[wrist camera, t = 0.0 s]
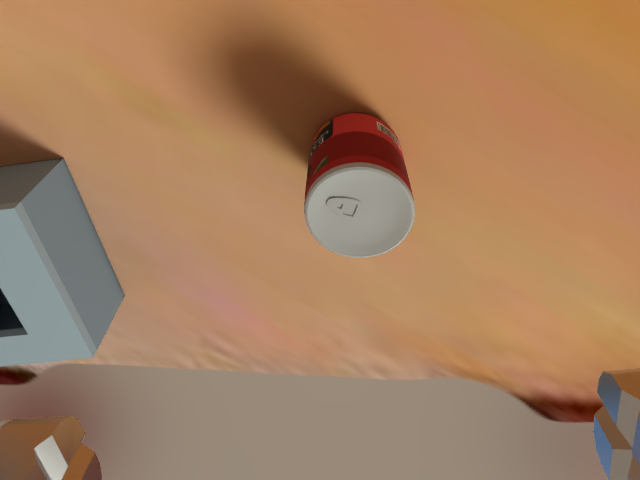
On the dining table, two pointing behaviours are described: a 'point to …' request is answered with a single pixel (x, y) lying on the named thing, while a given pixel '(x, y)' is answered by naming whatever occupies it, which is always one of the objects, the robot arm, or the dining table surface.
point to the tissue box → (50, 268)
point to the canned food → (357, 187)
